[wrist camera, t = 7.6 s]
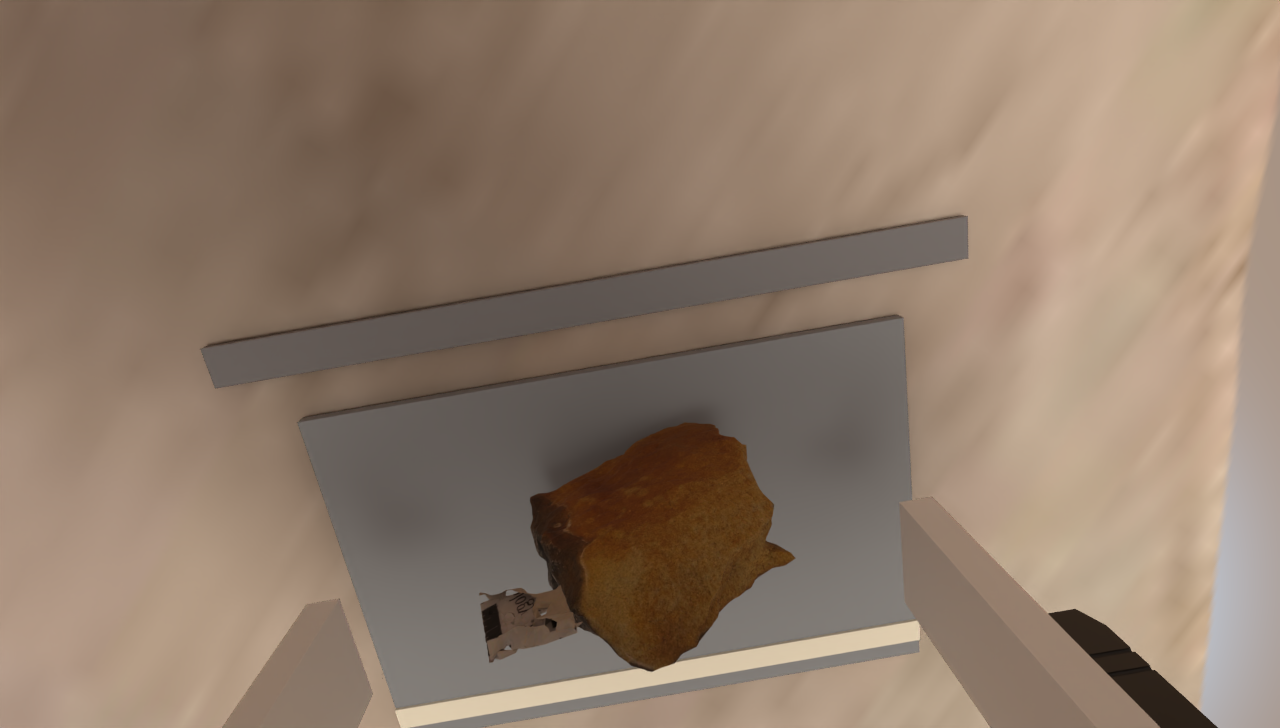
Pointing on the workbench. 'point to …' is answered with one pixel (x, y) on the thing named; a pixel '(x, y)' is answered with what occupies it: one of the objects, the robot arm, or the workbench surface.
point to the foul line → (587, 302)
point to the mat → (583, 440)
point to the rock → (643, 550)
